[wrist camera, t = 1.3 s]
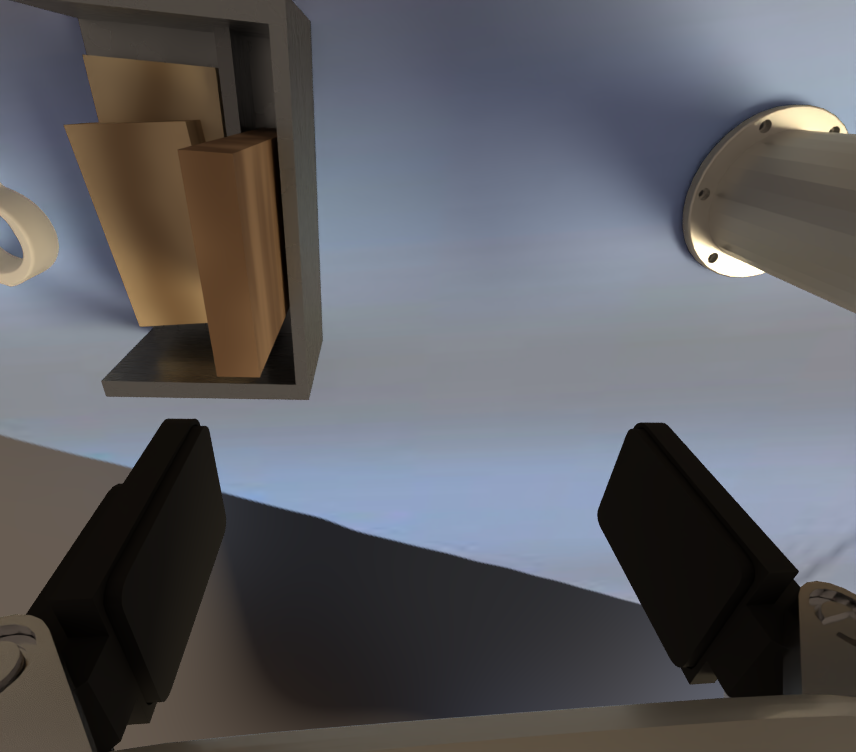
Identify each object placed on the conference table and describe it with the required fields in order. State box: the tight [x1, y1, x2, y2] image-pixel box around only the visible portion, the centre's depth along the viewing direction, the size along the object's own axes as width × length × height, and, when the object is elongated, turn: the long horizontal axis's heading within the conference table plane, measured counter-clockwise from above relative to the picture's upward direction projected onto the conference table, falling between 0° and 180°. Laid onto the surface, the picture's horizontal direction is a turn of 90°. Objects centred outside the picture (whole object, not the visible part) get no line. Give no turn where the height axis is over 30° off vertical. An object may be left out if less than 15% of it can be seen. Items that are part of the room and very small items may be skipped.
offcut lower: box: [83, 55, 227, 142], centre depth 31 cm, size 7×16×2 cm, turn 175°
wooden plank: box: [177, 127, 290, 377], centre depth 27 cm, size 2×10×15 cm, turn 175°
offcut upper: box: [64, 120, 208, 327], centre depth 29 cm, size 6×12×2 cm, turn 1°
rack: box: [10, 0, 323, 400], centre depth 30 cm, size 13×22×9 cm, turn 175°
